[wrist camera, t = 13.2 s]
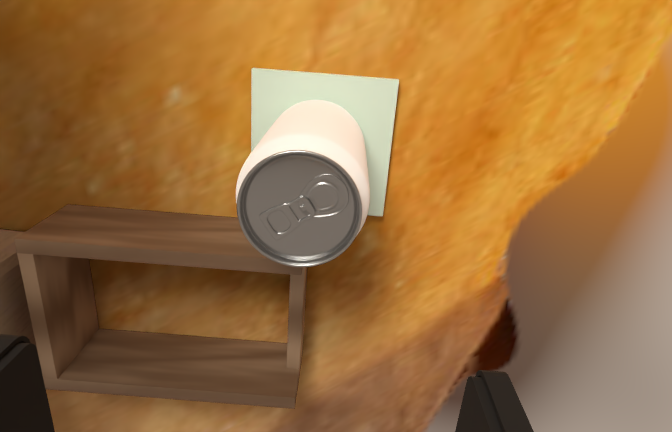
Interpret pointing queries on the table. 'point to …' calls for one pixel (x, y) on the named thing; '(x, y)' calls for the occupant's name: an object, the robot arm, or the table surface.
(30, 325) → the block
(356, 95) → the sage mat
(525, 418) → the robot arm
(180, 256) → the walnut box
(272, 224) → the can
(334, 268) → the table surface
